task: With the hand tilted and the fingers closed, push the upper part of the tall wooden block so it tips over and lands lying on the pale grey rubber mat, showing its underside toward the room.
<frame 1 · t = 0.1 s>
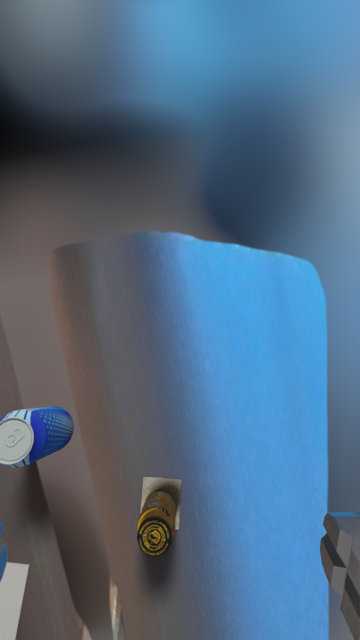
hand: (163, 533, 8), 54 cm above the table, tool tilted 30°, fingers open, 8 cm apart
beer can: (54, 427, 60), on the table
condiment: (160, 502, 57), on the table
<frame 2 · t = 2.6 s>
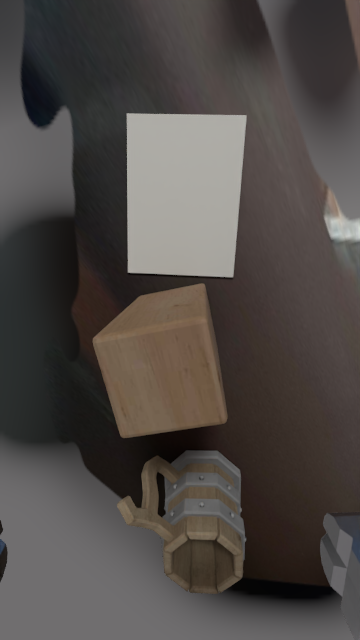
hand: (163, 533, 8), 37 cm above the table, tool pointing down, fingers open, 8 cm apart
wooden block: (178, 321, 45), on the table
mat: (182, 200, 40), on the table
tankard: (186, 467, 52), on the table
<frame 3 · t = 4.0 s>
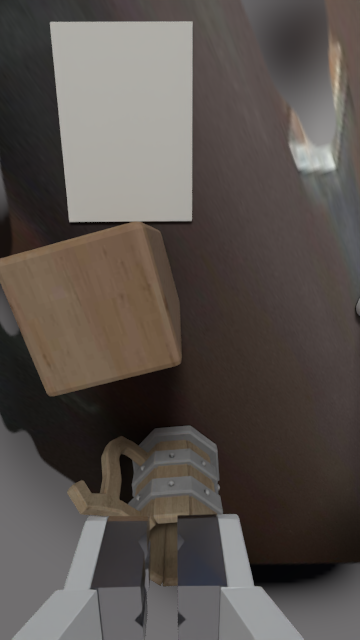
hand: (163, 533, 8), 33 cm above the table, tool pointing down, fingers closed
wooden block: (133, 278, 39), on the table
mat: (126, 130, 35), on the table
tankard: (157, 447, 46), on the table
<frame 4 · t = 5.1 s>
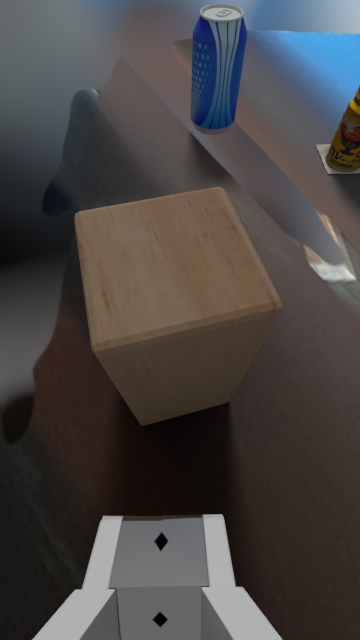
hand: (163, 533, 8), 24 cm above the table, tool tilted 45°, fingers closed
wooden block: (174, 372, 35), on the table
beer can: (211, 125, 59), on the table
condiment: (341, 160, 54), on the table
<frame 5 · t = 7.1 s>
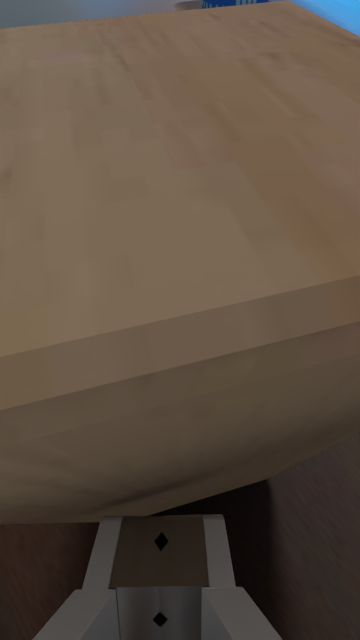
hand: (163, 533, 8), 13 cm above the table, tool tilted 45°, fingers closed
wooden block: (180, 422, 22), on the table, touching gripper
beer can: (225, 88, 47), on the table
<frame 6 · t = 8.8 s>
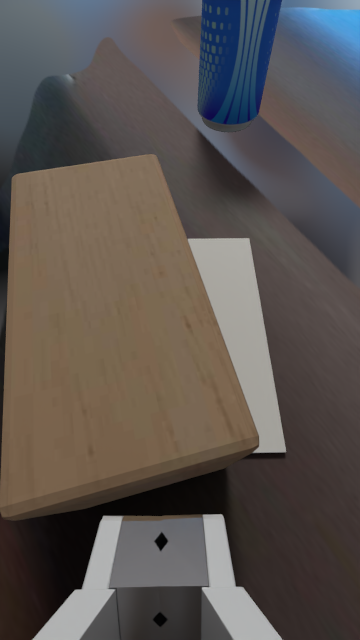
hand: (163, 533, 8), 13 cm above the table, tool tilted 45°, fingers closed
wooden block: (150, 491, 15), point 5 cm above the table, touching mat
mat: (175, 327, 26), on the table
beer can: (226, 120, 43), on the table
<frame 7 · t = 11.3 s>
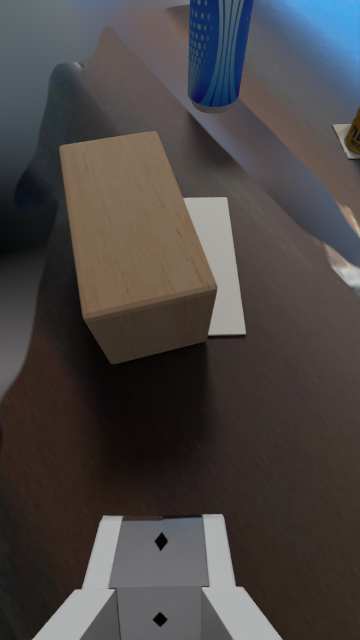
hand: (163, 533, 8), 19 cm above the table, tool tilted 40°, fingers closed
wooden block: (157, 335, 25), point 5 cm above the table, touching mat
mat: (171, 259, 36), on the table
beer can: (212, 103, 51), on the table
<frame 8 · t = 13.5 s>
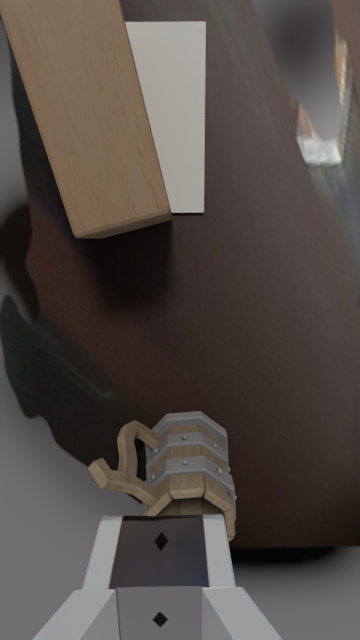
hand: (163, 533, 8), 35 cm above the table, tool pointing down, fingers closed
wooden block: (130, 230, 34), point 5 cm above the table, touching mat
mat: (142, 125, 36), on the table
tankard: (168, 432, 48), on the table
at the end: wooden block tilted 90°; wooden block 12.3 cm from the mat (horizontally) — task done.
